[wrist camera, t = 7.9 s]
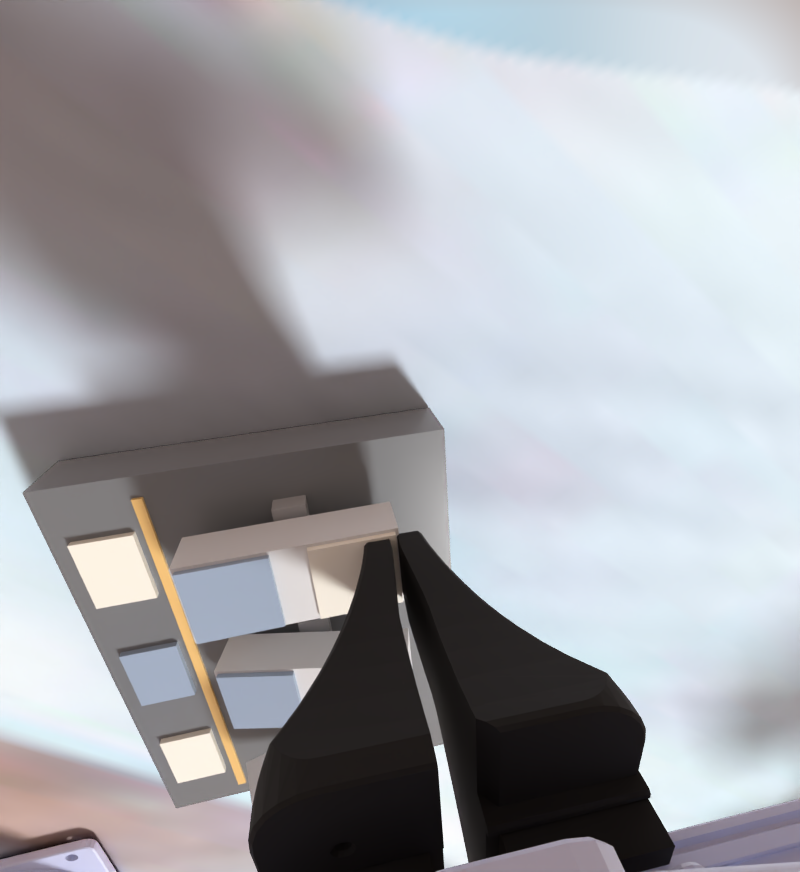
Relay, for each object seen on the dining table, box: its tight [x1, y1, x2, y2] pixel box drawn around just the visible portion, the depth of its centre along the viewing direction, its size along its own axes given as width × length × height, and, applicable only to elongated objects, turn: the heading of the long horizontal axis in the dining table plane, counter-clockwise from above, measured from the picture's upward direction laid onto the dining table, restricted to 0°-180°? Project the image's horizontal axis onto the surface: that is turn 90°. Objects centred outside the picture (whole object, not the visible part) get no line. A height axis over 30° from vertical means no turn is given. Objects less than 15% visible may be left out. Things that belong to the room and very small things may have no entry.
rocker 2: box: [214, 628, 413, 729], centre depth 15 cm, size 6×3×2 cm, turn 95°
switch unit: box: [23, 408, 451, 808], centre depth 17 cm, size 12×15×3 cm
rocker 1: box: [169, 502, 404, 644], centre depth 13 cm, size 6×3×2 cm, turn 94°
